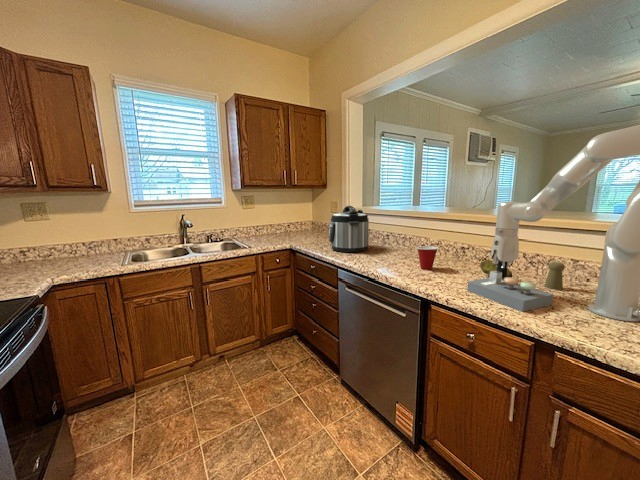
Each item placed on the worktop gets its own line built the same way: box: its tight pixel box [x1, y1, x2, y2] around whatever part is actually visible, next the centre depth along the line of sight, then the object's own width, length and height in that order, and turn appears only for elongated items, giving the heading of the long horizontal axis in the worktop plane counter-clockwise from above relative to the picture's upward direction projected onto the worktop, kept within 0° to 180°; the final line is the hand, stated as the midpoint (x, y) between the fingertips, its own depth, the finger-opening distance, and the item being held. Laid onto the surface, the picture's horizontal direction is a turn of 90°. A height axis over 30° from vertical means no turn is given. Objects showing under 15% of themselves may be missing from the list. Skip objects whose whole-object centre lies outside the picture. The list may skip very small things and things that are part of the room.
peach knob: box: [504, 277, 519, 290], centre depth 103 cm, size 4×4×4 cm
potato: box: [479, 259, 513, 280], centre depth 129 cm, size 8×13×8 cm, turn 26°
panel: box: [466, 277, 554, 313], centre depth 105 cm, size 22×16×4 cm
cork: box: [544, 261, 566, 291], centre depth 114 cm, size 6×6×11 cm
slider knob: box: [488, 271, 502, 283], centre depth 110 cm, size 3×3×4 cm
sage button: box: [519, 281, 537, 296], centre depth 98 cm, size 4×4×4 cm
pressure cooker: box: [328, 205, 370, 253], centre depth 194 cm, size 30×28×32 cm
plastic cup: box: [416, 245, 439, 271], centre depth 145 cm, size 11×11×12 cm
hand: (501, 276), depth 111 cm, fingers closed
